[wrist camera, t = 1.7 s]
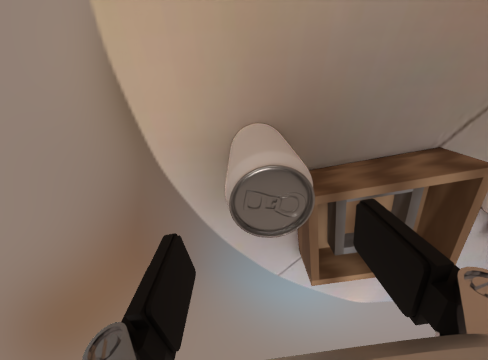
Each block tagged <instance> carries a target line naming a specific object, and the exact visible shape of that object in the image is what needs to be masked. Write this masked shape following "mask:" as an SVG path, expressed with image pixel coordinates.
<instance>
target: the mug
mask: <svg viewBox="0 0 488 360" xmlns="http://www.w3.org/2000/svg"><path fill="white" fill-rule="evenodd" d="M481 207H482V208H483V210H484V211H486V212H487V213H488V192H487V194H486V196H485V199H484V201H483V203H482V205H481Z"/></svg>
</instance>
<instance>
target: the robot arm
mask: <svg viewBox="0 0 488 360" xmlns="http://www.w3.org/2000/svg"><path fill="white" fill-rule="evenodd" d="M353 244H354V247H355V249H356V251H357V252H358V254H359V255H360V256H361V258H362V259H363V260H364V262H365V263H366V264H367V266H368V267H369V268H370V270H371V271H372V272H373V274H374V275H375V277H376V278H377V279H378V281H379V282H380V283H381V285H382V286H383V287H384V289H385V290H386V291H387V293H388V294H389V295H390V297H391V298H392V300H393V301H394V302H395V304H396V305H397V306H398V308H399V309H400V310H401V312H402V313H403V314H404V315H405V316H406V317H410V319H411V320H412V321H413V323H414V324H415V325H421V324H428V323H429V324H430V325H431V327H432V328H433V329H434V330H435V337H429V338H421V339H412V340H404V341H397V342H389V343H382V344H376V345H368V346H360V347H353V348H346V349H338V350H331V351H324V352H318V353H310V354H303V355H296V356H290V357H282V358H275V359H269V360H488V270H486V269H483V268H478V267H465V268H461V269H459V268H458V267H457V266H456V265H454V264H455V263H453V262H452V261H451V260H450V259H448V258H447V257H446V256H445V255H443V254H442V253H441V252H440V251H438V250H437V249H436V248H435V247H434V246H432V245H431V244H430V243H429V242H427V241H426V240H425V239H424V238H422V237H421V236H420V235H419V234H417V233H416V232H415V231H414V230H412V229H411V228H410V227H409V226H407V225H406V224H405V223H404V222H402V221H401V220H400V219H399V218H397V217H396V216H395V215H394V214H393V213H391V212H390V211H389V210H388V209H386V208H385V207H384V206H383V205H381V204H380V203H379V202H378V201H376V200H375V199H373V198H371V199H365V200H361V201H360V202H359V204H357V205H356V215H355V227H354V239H353ZM195 275H196V272H195V268H194V266H193V264H192V261H191V259H190V257H189V254H188V252H187V250H186V248H185V246H184V243H183V241H182V238H181V237H180V236H177V234H169V235H165V236H164V237H163V238H162V241H161V243H160V245H159V247H158V249H157V251H156V253H155V255H154V257H153V259H152V261H151V263H150V265H149V267H148V268H147V271H146V272H145V274H144V277H143V278H142V281H141V283H140V285H139V287H138V289H137V291H136V293H135V295H134V297H133V299H132V301H131V303H130V305H129V307H128V309H127V311H126V313H125V315H124V317H123V319H122V322H115V323H113V324H110V325H108V326H107V327H105V328H104V329H102V330H101V331H100V332H99V333H98V334H97V335H96V336H95V337H94V338H93V339H92V340H91V342H90V343H89V345H88V346H87V348H86V350H85V352H84V355H83V360H174V359H175V354H176V351H179V349H180V346H181V342H182V337H183V332H184V328H185V323H186V318H187V314H188V309H189V304H190V299H191V295H192V290H193V285H194V281H195Z"/></svg>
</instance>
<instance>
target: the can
mask: <svg viewBox="0 0 488 360" xmlns="http://www.w3.org/2000/svg"><path fill="white" fill-rule="evenodd" d="M225 198H226V202H227V205H228V207H229V209H230V213H231V216H232V218H233V220H234V221H235V223H236V224H237V225H238V226H239V227H240V228H241V229H243V230H244V231H246V232H247V233H249V234H252V235H255V236H258V237H265V238H272V237H280V236H284V235H287V234H289V233H291V232H293V231H295V230H297V229H298V228H299V227H301V226H302V225H303V224H304V223H305V222H306V221H307V220H308V218H309V217H310V215H311V213H312V211H313V208H314V204H315V193H314V189H313V181H312V177H311V174H310V172H309V170H308V168H307V167H306V165H305V164H304V162H303V161H302V160H301V159H300V157H299V156H298V155H297V154H296V152H295V151H294V150H293V149H292V147H291V146H290V145H289V144H288V142H287V141H286V140H285V139H284V138H283V136H282V135H281V134H280V133H279V132H278V131H277V130H276V129H275V128H273V127H272V126H270V125H267V124H263V123H255V124H250V125H248V126H246V127H244V128H242V129H241V130H240V131H239V132H238V133H237V134H236V136H235V137H234V139H233V141H232V144H231V149H230V155H229V162H228V168H227V175H226V182H225Z"/></svg>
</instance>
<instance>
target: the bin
mask: <svg viewBox="0 0 488 360" xmlns="http://www.w3.org/2000/svg"><path fill="white" fill-rule="evenodd" d="M309 172H310V174H311V177H312V181H313V189H314V193H315V204H314V208H313V211H312V213H311V215H310V217H309V218H308V220H307V221H306V222H305V223H304V224H303V225H302V226H301V227H299V228H298V240H299V251H300V254H301V257H302V260H303V263H304V265H305V268H306V271H307V274H308V277H309V279H310V282H311V285H312V286H315V285H322V284H330V283H337V282H344V281H352V280H359V279H366V278H374V277H375V275H374V274H373V272H372V271H371V270H370V268H369V267H368V266H367V264H366V263H365V262H364V260H363V259H362V258H361V256H360V255H359V254H358V252H357V251H356V249H355V247H354V244H353V239H354V227H355V215H356V205H357V204H359V202H360V201H361V200H365V199H371V198H373V199H375V200H376V201H378V202H379V203H380V204H381V205H383V206H384V207H385V208H386V209H388V210H389V211H390V212H391V213H393V214H394V215H395V216H396V217H397V218H399V219H400V220H401V221H402V222H404V223H405V224H406V225H407V226H409V227H410V228H411V229H412V230H414V231H415V232H416V233H417V234H419V235H420V236H421V237H422V238H424V239H425V240H426V241H427V242H429V243H430V244H431V245H432V246H434V247H435V248H436V249H437V250H438V251H440V252H441V253H442V254H443V255H445V256H446V257H447V258H448V259H450V260H451V261H452V262H453V263H455V264H454V265H456V263H457V260H458V258H459V256H460V253H461V251H462V249H463V247H464V244H465V242H466V240H467V237H468V235H469V233H470V231H471V228H472V226H473V224H474V221H475V219H476V217H477V215H478V212H479V210H480V208H481V205H482V203H483V201H484V199H485V196H486V194H487V192H488V162H485V161H482V160H478V159H475V158H472V157H469V156H466V155H463V154H459V153H456V152H453V151H450V150H447V149H443V148H440V147H439V148H433V149H427V150H422V151H416V152H411V153H405V154H399V155H394V156H388V157H382V158H377V159H371V160H365V161H360V162H354V163H348V164H343V165H337V166H331V167H326V168H320V169H315V170H309Z"/></svg>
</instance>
